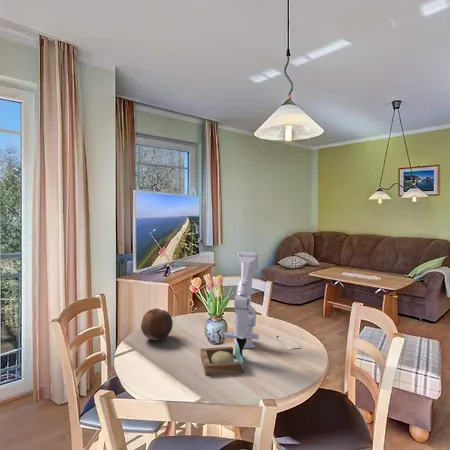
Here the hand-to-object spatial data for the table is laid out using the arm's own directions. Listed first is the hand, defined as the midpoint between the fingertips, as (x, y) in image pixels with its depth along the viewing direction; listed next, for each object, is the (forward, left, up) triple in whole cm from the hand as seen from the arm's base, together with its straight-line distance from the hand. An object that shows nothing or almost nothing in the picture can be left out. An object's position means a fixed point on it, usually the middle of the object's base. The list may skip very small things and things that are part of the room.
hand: (240, 354), depth 141 cm
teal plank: (+3, -1, -2) cm, 4 cm away
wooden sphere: (-26, -36, -2) cm, 44 cm away
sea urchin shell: (+3, -9, -2) cm, 9 cm away
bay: (+3, -9, -2) cm, 9 cm away
